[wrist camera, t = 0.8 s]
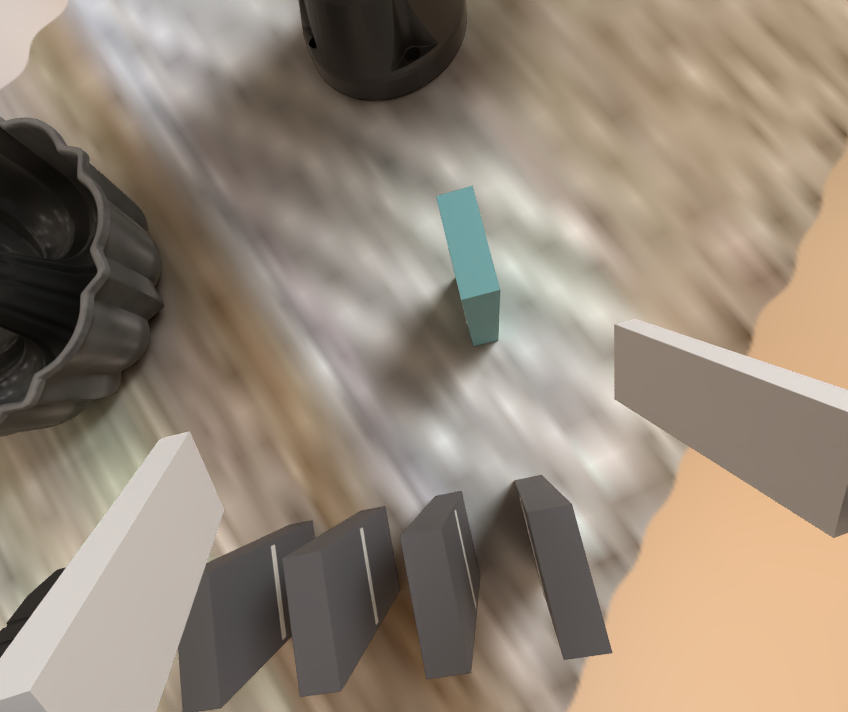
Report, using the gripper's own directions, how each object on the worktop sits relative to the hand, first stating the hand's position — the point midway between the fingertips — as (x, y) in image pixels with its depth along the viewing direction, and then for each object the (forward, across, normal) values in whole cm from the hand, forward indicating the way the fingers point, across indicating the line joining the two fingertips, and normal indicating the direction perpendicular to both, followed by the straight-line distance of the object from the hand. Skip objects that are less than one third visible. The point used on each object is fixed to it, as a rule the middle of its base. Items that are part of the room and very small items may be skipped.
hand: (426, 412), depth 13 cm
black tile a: (+10, +8, -17) cm, 21 cm away
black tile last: (+15, -9, -18) cm, 26 cm away
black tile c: (+14, -4, -18) cm, 23 cm away
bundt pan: (+35, -26, +2) cm, 44 cm away
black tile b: (+12, +2, -17) cm, 21 cm away
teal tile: (+20, +8, -3) cm, 22 cm away
